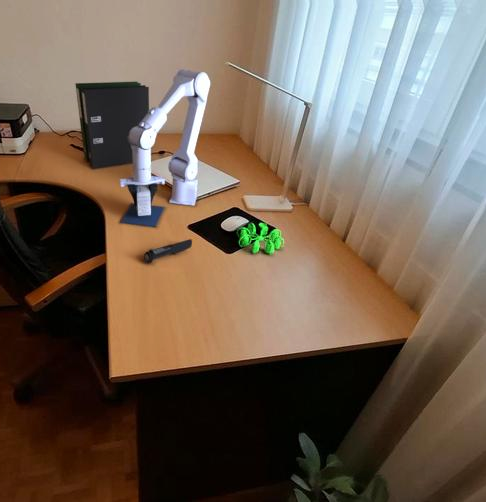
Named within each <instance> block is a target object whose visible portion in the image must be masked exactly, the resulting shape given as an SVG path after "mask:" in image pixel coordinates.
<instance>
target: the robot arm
mask: <svg viewBox="0 0 486 502" xmlns="http://www.w3.org/2000/svg"><path fill="white" fill-rule="evenodd" d="M172 81H173V82H172V85H170V88H169V89H168V91H167V92H166V93H165V95H164V97H163V98H162V100H161V101H160V103H159V104H158V105H157V106H153V107H151V108H149V111H148V114H147V115H146V116H145V117H144V119H143V120H142V121H141V122H140V123H139V125H138V126H136V127H134V128H132V129H131V130H130V132H129V136H128V141H129V143H130V144H131V149H132V154H133V163H132V173H133V174H132V175H133V176H131V177H125V178H120V179H119V186H120V188H124V187H127V189H128V192H129V193H130V196H131V197H132V200H133V203H134V205H135V206H137V201H136V187H135V185H148V187H149V190H150V203H151V206H153V201H154V197H155V195H156V193H157V191H158V189H159V185H165V184H166V183H165V182H166V179H165V177H164V176H153V175H152V147H153V146H154V145H155V143H156V138H157V134H158V132H159V131H160V130H161V129H162V127H163V126H164V125H165V123H166V122H167V120H168V117H167V116H168V115H167V114H169V113H170V112H171V110H172V109H174V107H175V106H176V105H177V104H178V103H179V102H180V100H181V99H182V98H183V97H186V99H187V101H188V108H187V111H186V115H185V116H186V118H185V121H184V126H183V130H182V134H181V139H180V143H179V148H178V149H177V150H176V151H174V152H173V153H172V157H171V158H170V160H169V162H168V165H167V167H168V171H169V172H170V174H171V177H172V183H171V185H172V187H171V197H170V199H169V204H176V205H177V204H178V205H185V206H195V205H196V202H197V199H198V188H199V187H198V186H199V179H197V178H196V177H197V175H198V164H199V159H198V158H197V156H196V154H195V150H196V146H197V141H198V138H199V133H200V130H201V126H202V121H203V118H204V114H205V111H206V106H207V102H208V101H207V100H208V96H209V91H210V87H211V81H210V78H209V76H208V74H207V73H206V72H204V71H203V72H202V71H197V70H196V71H195V70H191V69H187V68H180V69H179V70H178V71H177V72H176V74H175V76H173V79H172Z"/></svg>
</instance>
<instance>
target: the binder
mask: <svg viewBox="0 0 486 502" xmlns="http://www.w3.org/2000/svg"><path fill="white" fill-rule="evenodd" d="M74 84H75V92H76V100H77V101H76V102H77V108H78V115H79V116H78V117H79V122H80V123H79V125H80V134H81V141H82V149H83V157H84V160H85V161H86V162H87V163H89V166H90V167H91V169H92V170H96V169H104V168H110V167H116V166H123V165H130V164H133V154H132V149H131V144H130V143H129V141H128V136H129V132H130V130H131V129H132V128H134V127H136V126H138V125H139V123H140V122H141V121H142V120H143V119H144V117H145V116H146V115H147V114H148V111H149V109H150V86H147V85H146V84H145V85H144V84H143V85H141V84H142V83H141V82H138V81H111V82H110V81H109V82H108V81H107V82H76V83H74Z"/></svg>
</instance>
